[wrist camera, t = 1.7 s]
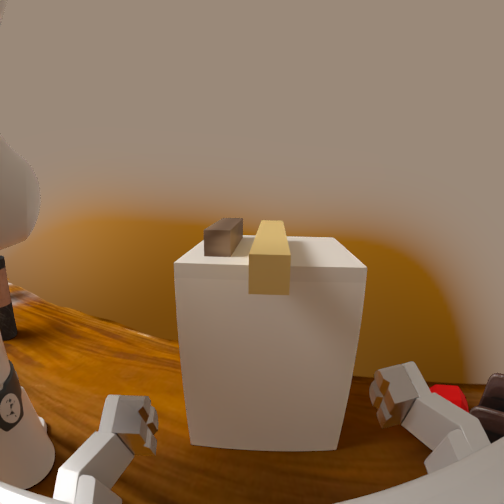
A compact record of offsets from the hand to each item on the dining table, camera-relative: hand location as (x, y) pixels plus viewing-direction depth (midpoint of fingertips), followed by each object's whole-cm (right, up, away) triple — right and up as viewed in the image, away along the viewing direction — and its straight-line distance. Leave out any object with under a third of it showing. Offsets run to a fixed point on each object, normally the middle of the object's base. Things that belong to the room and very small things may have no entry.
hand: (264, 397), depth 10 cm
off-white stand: (+2, -20, +37) cm, 42 cm away
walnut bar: (-4, +6, +33) cm, 34 cm away
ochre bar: (+2, +4, +25) cm, 25 cm away
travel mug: (-63, -16, +52) cm, 83 cm away
